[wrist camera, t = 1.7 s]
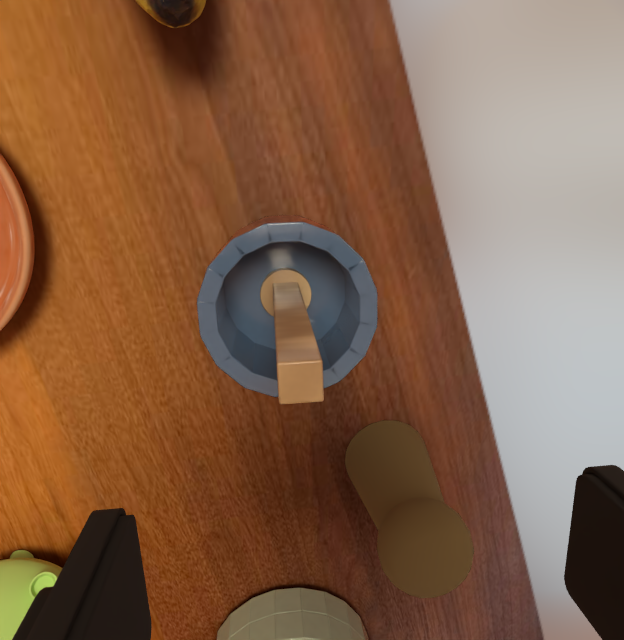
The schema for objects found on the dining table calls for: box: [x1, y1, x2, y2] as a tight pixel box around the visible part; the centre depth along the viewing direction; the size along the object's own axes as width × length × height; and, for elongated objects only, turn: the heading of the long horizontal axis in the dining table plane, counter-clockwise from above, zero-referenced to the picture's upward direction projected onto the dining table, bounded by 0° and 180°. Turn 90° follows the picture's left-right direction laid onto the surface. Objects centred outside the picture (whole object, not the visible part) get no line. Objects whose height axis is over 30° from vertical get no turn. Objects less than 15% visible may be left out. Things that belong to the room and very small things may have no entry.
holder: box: [197, 215, 377, 397], centre depth 30 cm, size 10×10×6 cm
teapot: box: [0, 550, 63, 640], centre depth 33 cm, size 11×12×8 cm
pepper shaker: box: [345, 420, 474, 598], centre depth 31 cm, size 6×6×11 cm
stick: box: [260, 268, 324, 404], centre depth 25 cm, size 3×3×15 cm
